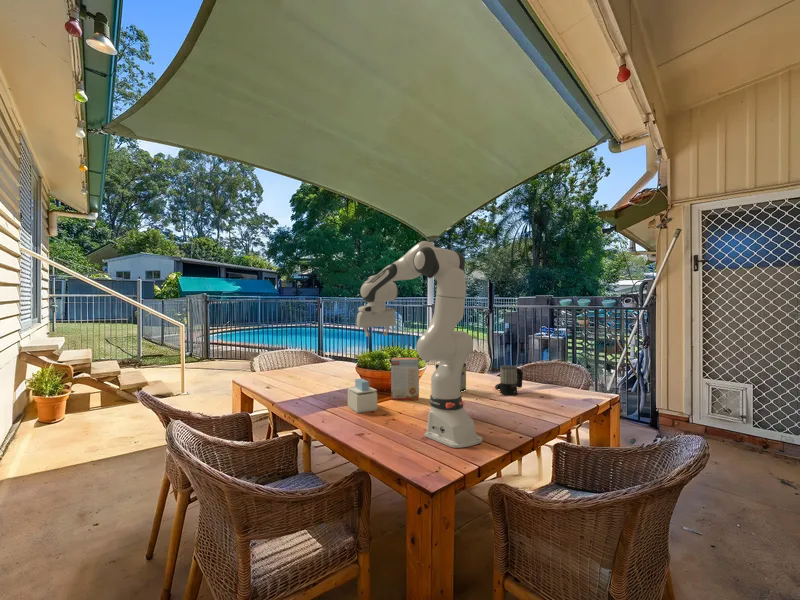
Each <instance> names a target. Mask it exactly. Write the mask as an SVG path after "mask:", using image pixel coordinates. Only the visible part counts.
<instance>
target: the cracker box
mask: <svg viewBox="0 0 800 600" xmlns="http://www.w3.org/2000/svg"><path fill="white" fill-rule="evenodd" d="M390 359H391V360H390V384H391V388H390V389H391V390H390V391H391V392H390V393H391V394H390V395H391V396H390V397H391V400H392V401H393V400H397V401H399V400H400V401H401V400H402V401H403V400H404V401H406V400H407V401H418V400H419V398H420V374H419V373H420V372H419V363H420V359H419V357H392V358H390Z"/></svg>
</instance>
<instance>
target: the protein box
mask: <svg viewBox="0 0 800 600" xmlns="http://www.w3.org/2000/svg"><path fill="white" fill-rule="evenodd" d="M439 364H440V363H437V364H435V370H436V369H437V368H438V366H439ZM464 390H466V391H467V363H466V362H465V363H464V366H463V369H462V373H461V380H460V392H461V391H464ZM464 392H465V391H464ZM461 393H462V392H461Z"/></svg>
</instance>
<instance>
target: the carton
mask: <svg viewBox="0 0 800 600" xmlns="http://www.w3.org/2000/svg"><path fill="white" fill-rule="evenodd" d="M347 408H349V409H350V410H352V411H353V412H355V413H356V414H361V412H363V413H369V412H373V411H378V392H377V391H374V392H367V393H360V394H357V393H355V392H353V391H351V390H349V389H347Z"/></svg>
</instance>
